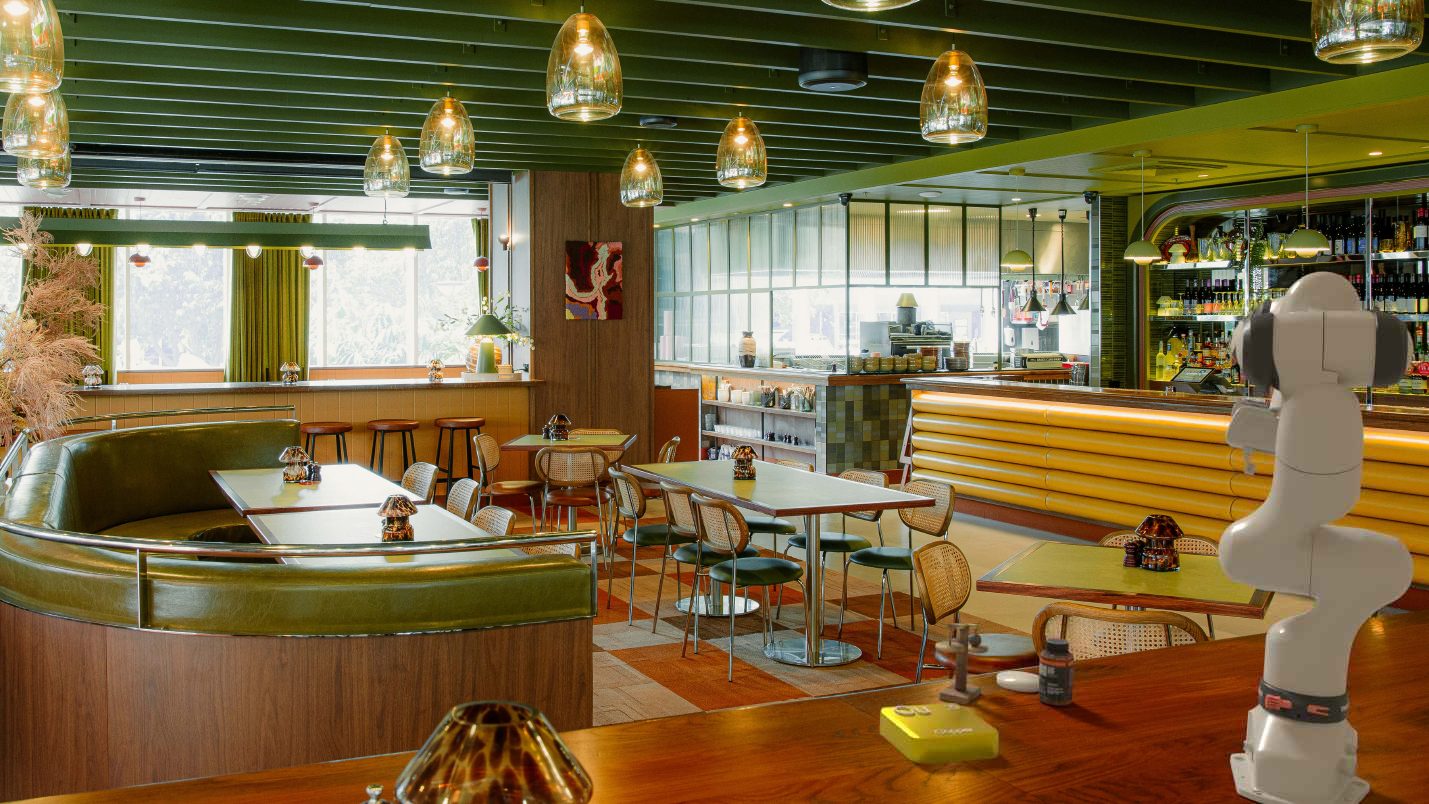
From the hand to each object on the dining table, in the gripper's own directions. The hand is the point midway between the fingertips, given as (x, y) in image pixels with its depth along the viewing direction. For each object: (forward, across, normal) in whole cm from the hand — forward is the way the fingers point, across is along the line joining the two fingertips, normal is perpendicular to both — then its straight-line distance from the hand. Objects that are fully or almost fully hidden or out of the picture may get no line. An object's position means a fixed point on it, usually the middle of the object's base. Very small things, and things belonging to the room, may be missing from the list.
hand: (1276, 479), depth 196 cm
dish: (+50, -33, -1) cm, 60 cm away
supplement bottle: (+51, -24, -6) cm, 57 cm away
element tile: (+64, -31, -38) cm, 80 cm away
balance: (+56, -38, -14) cm, 69 cm away
